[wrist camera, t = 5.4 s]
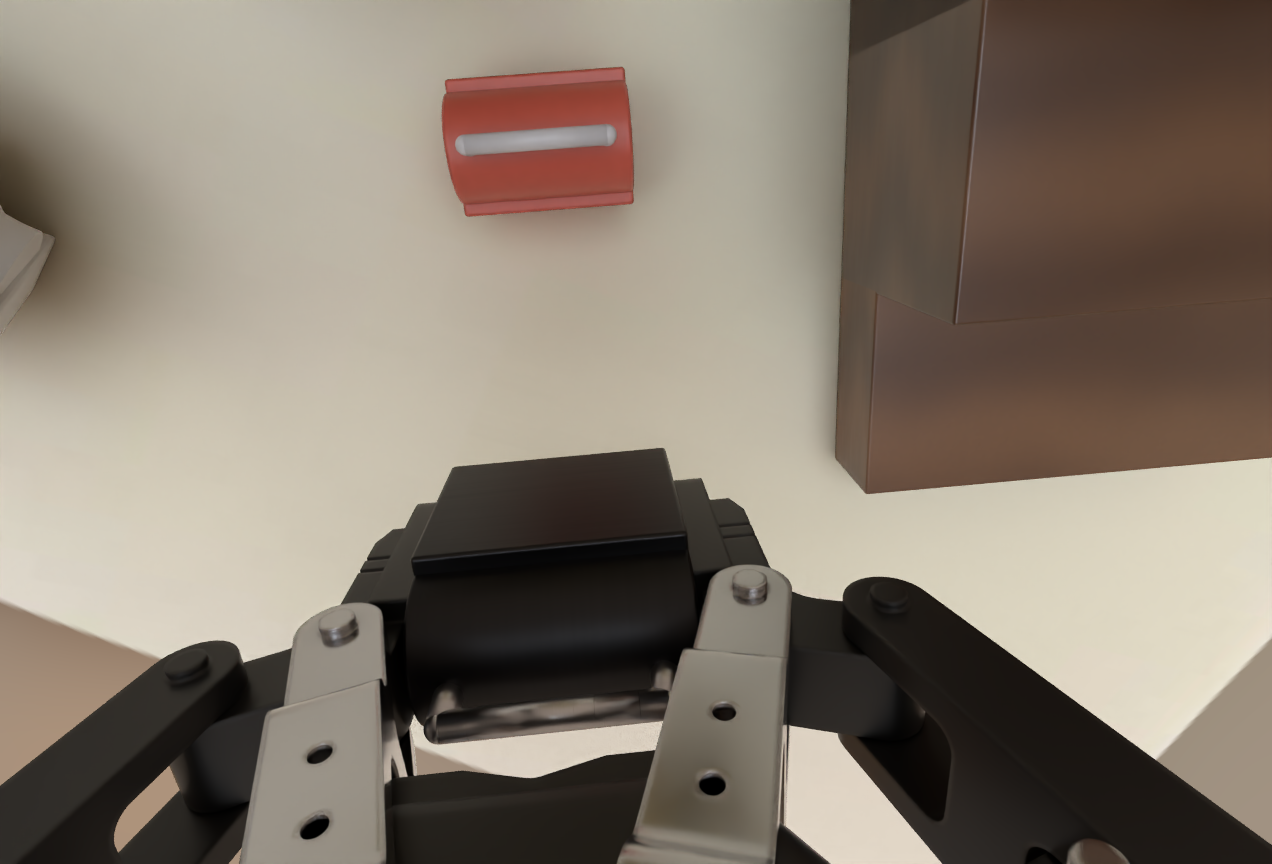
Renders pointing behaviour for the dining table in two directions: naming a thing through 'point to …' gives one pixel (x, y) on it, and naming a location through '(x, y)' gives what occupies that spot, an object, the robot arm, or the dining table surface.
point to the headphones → (19, 263)
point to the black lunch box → (549, 598)
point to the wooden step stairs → (1055, 239)
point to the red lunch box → (539, 141)
